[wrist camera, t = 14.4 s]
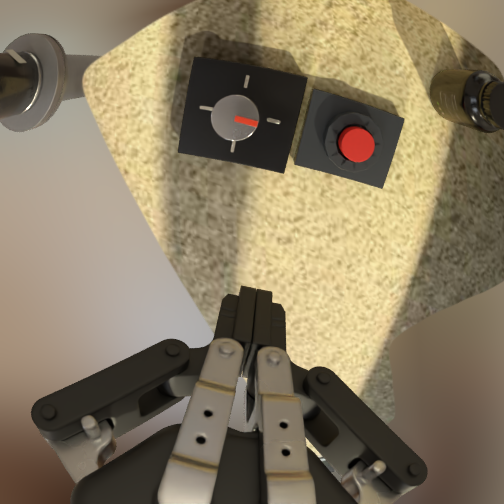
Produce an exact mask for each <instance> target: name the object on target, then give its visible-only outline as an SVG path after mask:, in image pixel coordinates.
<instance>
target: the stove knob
mask: <svg viewBox="0 0 504 504" xmlns="http://www.w3.org/2000/svg"><path fill="white" fill-rule="evenodd" d="M260 118H261V110H260V107H259V105H258V103H257V102H256V100H255V99H253V98H252V97H250V96H248V95H245V94H234V95H229V96H226V97H224V98H222V99H221V100H219V101H218V102H217V103H216V104H215V106H214V108H213V110H212V113H211V123H212V126H213V128H214V130H215V131H216V133H217V134H218V135H220V136H221V137H222V138H224V139H227V140H231V141H239V140H243V139H246V138H248V137H249V136H250V135H252V134H253V133H254V131H255V130H256V128H257V126H258V124H259V121H260Z"/></svg>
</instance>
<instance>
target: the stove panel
mask: <svg viewBox="0 0 504 504" xmlns="http://www.w3.org/2000/svg"><path fill="white" fill-rule="evenodd" d="M307 79H308V78H307V77H304V76H300V75H296V74H292V73H288V72H283V71H279V70H274V69H269V68H265V67H260V66H254V65H249V64H243V63H237V62H231V61H224V60H217V59H210V58H202V57H194V60H193V65H192V70H191V75H190V80H189V85H188V91H187V97H186V102H185V108H184V114H183V121H182V127H181V133H180V140H179V147H178V153H183V154H189V155H195V156H200V157H206V158H211V159H217V160H222V161H227V162H232V163H237V164H242V165H247V166H252V167H256V168H261V169H265V170H270V171H274V172H279V173H283V174H284V172H285V168H286V164H287V160H288V156H289V152H290V148H291V144H292V140H293V136H294V132H295V128H296V124H297V120H298V116H299V112H300V108H301V104H302V100H303V96H304V92H305V88H306V83H307ZM234 94H245V95H248V96H250V97H252V98H253V99H255V100H256V102H257V103H258V105H259V107H260V110H261V118H260V121H259V124H258V126H257V128H256V130H255V131H254V133H253V134H252V135H250V136H249V137H248V138H246V139H243V140H239V141H231V140H227V139H224V138H222V137H221V136H220V135H218V134H217V133H216V131H215V130H214V128H213V126H212V123H211V113H212V110H213V108H214V106H215V104H216V103H217V102H218V101H219V100H221V99H222V98H224V97H226V96H229V95H234Z"/></svg>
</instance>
